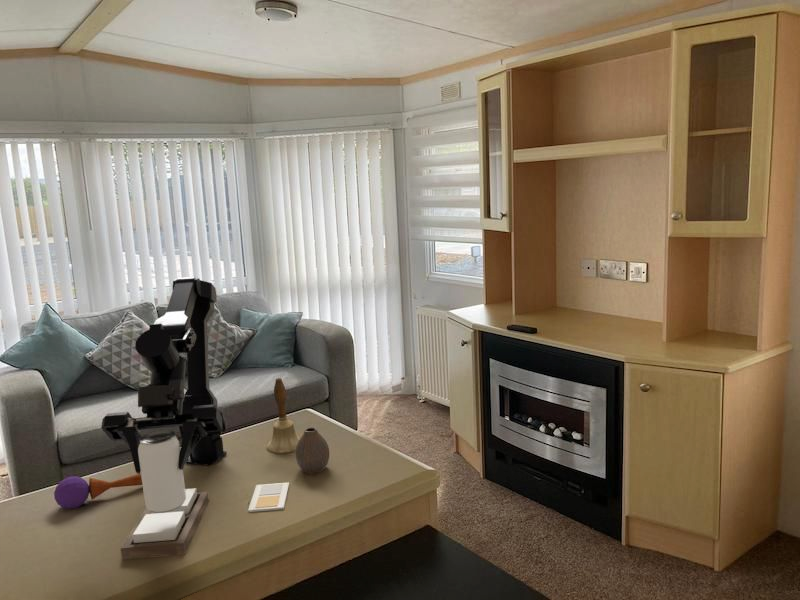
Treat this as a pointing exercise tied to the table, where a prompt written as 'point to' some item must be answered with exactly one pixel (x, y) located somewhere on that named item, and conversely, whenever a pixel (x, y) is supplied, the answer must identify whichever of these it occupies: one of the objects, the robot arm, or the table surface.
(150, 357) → the robot arm
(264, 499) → the pattern card
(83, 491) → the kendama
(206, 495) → the button board
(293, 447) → the hand bell
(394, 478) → the table surface
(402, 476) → the table surface
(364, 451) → the table surface
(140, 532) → the outer pad
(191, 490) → the inner pad
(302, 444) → the vase
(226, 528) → the table surface
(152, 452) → the can
